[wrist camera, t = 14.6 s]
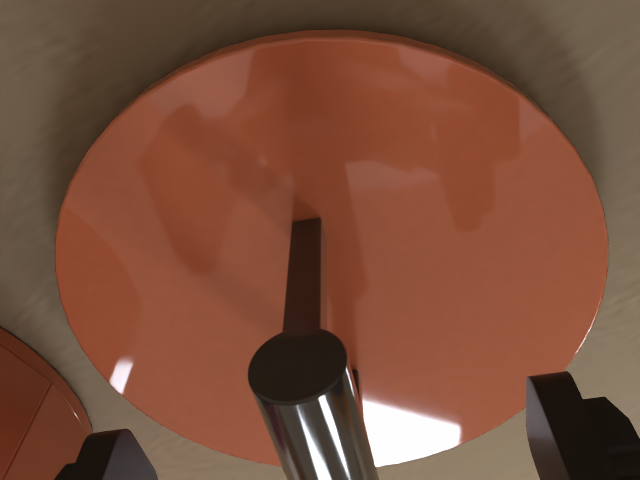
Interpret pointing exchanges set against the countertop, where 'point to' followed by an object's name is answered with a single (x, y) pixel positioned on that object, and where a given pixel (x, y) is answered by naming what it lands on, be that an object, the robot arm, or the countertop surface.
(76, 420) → the pot
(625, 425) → the robot arm
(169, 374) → the lid
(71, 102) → the countertop surface
